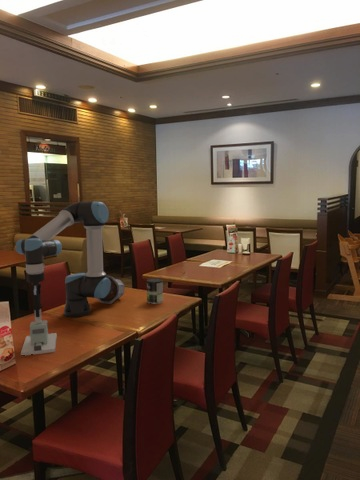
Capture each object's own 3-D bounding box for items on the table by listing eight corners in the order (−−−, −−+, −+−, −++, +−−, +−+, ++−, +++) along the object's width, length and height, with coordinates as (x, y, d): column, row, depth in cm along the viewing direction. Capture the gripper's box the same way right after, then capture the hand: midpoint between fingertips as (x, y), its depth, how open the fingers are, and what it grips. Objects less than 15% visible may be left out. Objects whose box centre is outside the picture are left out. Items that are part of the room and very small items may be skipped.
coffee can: (149, 304, 241) (148, 282, 239) (145, 300, 251) (144, 278, 249) (165, 302, 244) (164, 281, 242) (161, 298, 254) (160, 277, 252)
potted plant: (105, 274, 261) (80, 273, 232) (129, 277, 255) (107, 276, 227) (102, 301, 259) (77, 302, 231) (126, 304, 254) (103, 306, 225)
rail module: (48, 338, 184) (47, 320, 183) (47, 344, 177) (46, 325, 176) (32, 340, 182) (31, 321, 181) (30, 346, 175) (29, 327, 174)
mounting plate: (56, 335, 191) (56, 329, 191) (54, 351, 172) (54, 344, 172) (26, 339, 188) (26, 332, 187) (21, 355, 169) (20, 348, 168)
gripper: (42, 275, 170) (46, 326, 173) (45, 269, 183) (48, 317, 186) (24, 276, 168) (28, 328, 171) (28, 270, 181) (31, 319, 184)
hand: (38, 322), depth 179 cm, fingers closed
